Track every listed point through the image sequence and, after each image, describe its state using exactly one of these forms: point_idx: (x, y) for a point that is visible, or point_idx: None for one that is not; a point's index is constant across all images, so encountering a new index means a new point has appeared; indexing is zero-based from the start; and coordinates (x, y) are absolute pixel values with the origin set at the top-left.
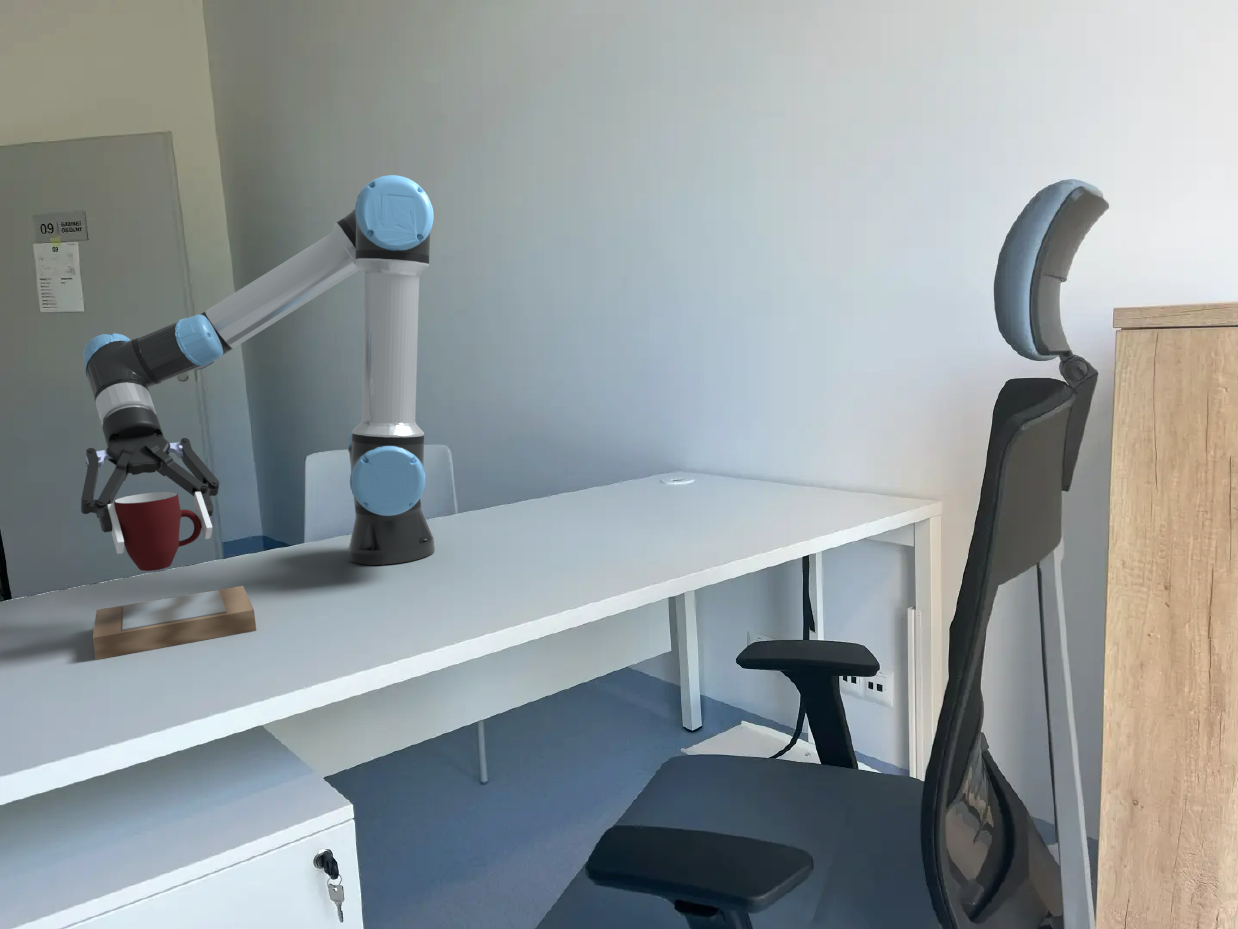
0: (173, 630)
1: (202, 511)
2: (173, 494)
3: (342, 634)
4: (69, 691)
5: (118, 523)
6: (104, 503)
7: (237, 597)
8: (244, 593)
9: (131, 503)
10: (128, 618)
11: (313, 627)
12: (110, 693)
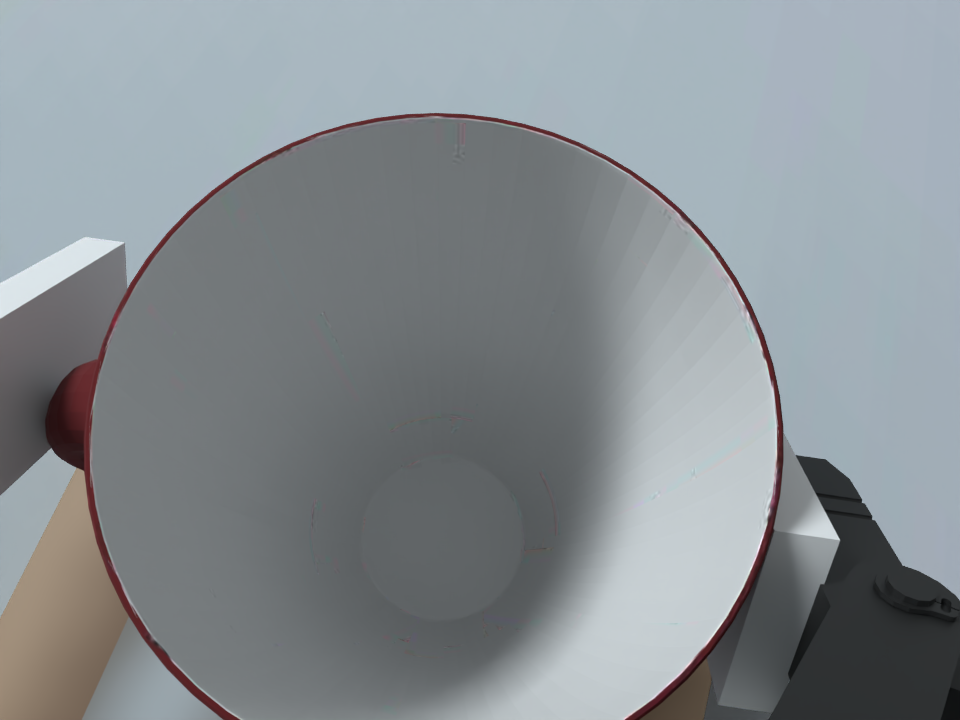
0: None
1: (29, 294)
2: (101, 454)
3: (72, 35)
4: (849, 230)
5: None
6: (874, 569)
7: None
8: (41, 556)
9: (665, 200)
10: None
11: (70, 168)
12: (757, 122)
